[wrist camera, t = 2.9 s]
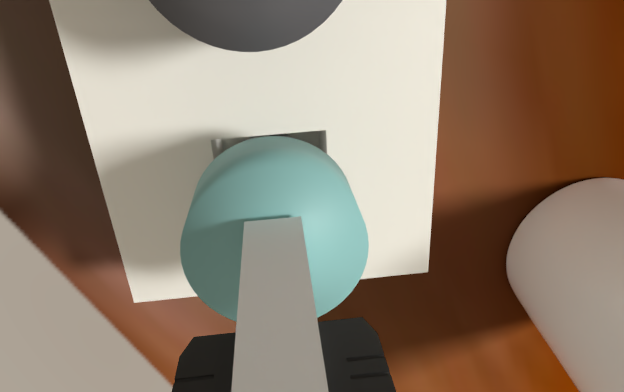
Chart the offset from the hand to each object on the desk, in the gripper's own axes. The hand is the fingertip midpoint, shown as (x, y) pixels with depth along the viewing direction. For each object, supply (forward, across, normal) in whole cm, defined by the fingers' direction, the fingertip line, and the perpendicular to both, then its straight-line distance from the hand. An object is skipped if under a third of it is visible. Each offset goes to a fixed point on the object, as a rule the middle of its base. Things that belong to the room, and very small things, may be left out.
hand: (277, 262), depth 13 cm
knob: (+7, 0, 0) cm, 7 cm away
